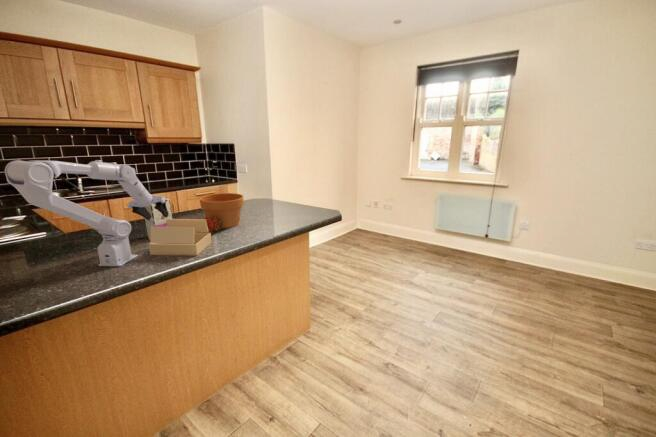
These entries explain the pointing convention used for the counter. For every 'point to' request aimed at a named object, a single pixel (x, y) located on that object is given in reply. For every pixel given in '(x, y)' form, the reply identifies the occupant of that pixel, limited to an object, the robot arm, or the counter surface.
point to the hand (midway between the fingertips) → (158, 217)
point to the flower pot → (223, 207)
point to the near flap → (172, 235)
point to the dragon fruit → (213, 224)
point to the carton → (182, 246)
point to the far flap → (189, 224)
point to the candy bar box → (157, 217)
